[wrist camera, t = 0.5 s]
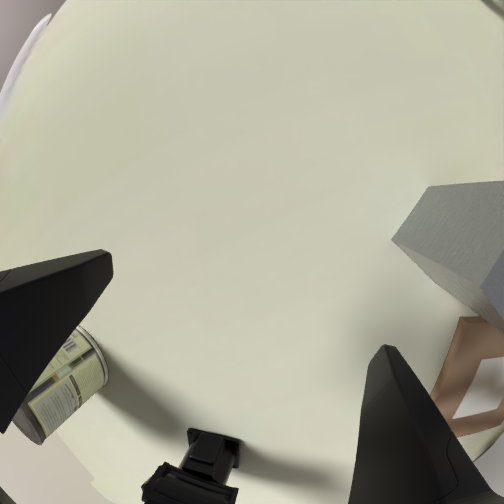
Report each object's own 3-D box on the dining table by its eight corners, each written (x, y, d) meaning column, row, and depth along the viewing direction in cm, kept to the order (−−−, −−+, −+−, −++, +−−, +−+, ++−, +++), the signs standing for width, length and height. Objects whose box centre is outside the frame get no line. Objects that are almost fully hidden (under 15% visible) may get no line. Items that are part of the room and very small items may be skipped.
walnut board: (496, 418, 19) (500, 425, 17) (407, 437, 22) (410, 446, 20) (544, 314, 16) (551, 319, 14) (460, 316, 19) (467, 323, 17)
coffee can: (68, 374, 31) (8, 420, 17) (50, 313, 29) (-25, 352, 15) (117, 397, 29) (54, 460, 15) (99, 330, 27) (11, 388, 13)
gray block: (432, 280, 19) (521, 350, 7) (391, 239, 19) (479, 287, 7) (467, 230, 18) (570, 260, 6) (428, 186, 18) (534, 179, 6)
